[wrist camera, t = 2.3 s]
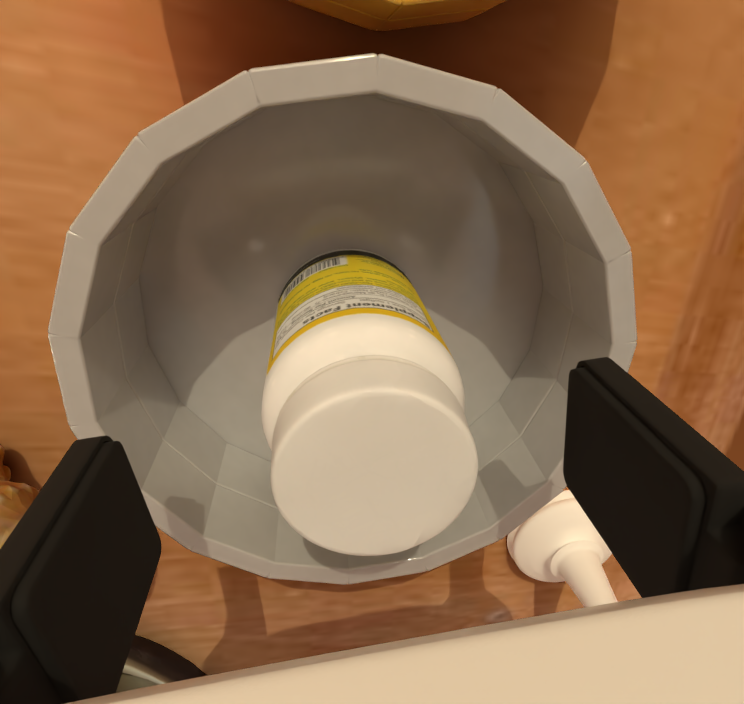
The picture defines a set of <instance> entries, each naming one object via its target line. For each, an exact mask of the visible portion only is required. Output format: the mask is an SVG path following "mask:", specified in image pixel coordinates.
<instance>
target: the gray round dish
mask: <svg viewBox="0 0 744 704" xmlns="http://www.w3.org/2000/svg"><path fill="white" fill-rule="evenodd" d="M338 249H361V250H366V251H370V252H373V253H376V254H379V255H381V256H383V257H385V258H387V259H388V260H390V261H391V262H393V263H394V264H395V265H396V266H398V267H399V268H400V269H401V270H402V271H403V272H404V273H405V275H406V276H407V277H408V279H409V280H410V282H411V283H412V285H413V287H414V288H415V290H416V292H417V294H418V295H419V297H420V299H421V301H422V303H423V304H424V306H425V308H426V310H427V312H428V313H429V315H430V317H431V319H432V321H433V323H434V325H435V326H436V328H437V330H438V332H439V334H440V336H441V337H442V339H443V341H444V342H445V344H446V346H447V348H448V350H449V351H450V353H451V355H452V357H453V359H454V361H455V363H456V365H457V367H458V370H459V373H460V376H461V379H462V383H463V387H464V394H465V409H464V414H465V417H466V421H467V424H468V427H469V429H470V432H471V434H472V437H473V439H474V442H475V446H476V450H477V455H478V474H477V480H476V484H475V487H474V490H473V492H472V495H471V497H470V499H469V501H468V503H467V505H466V506H465V507H464V509H463V510H462V512H461V513H460V515H459V516H458V517H457V518H456V519H455V520H454V521H453V522H452V523H451V524H450V525H449V526H448V527H447V528H446V529H445V530H443V531H442V532H441V533H439V534H438V535H436V536H435V537H433V538H431V539H429V540H428V541H426V542H424V543H422V544H420V545H417V546H415V547H413V548H411V549H408V550H405V551H401V552H398V553H393V554H387V555H380V556H356V555H347V554H342V553H337V552H334V551H330V550H328V549H325V548H323V547H320V546H318V545H316V544H314V543H312V542H310V541H308V540H307V539H305V538H304V537H302V536H301V535H300V534H299V533H297V532H296V531H295V530H294V529H293V528H292V527H291V526H290V525H289V524H288V522H287V521H286V520H285V519H284V517H283V516H282V515H281V513H280V511H279V509H278V507H277V505H276V503H275V500H274V497H273V494H272V489H271V480H270V474H271V457H272V451H271V449H270V447H269V445H268V442H267V439H266V437H265V434H264V430H263V425H262V416H261V410H262V397H263V389H264V384H265V378H266V372H267V366H268V359H269V354H270V348H271V341H272V335H273V328H274V322H275V316H276V309H277V303H278V300H279V296H280V294H281V292H282V289H283V287H284V285H285V284H286V282H287V281H288V279H289V278H290V276H291V275H292V274H293V273H294V272H295V271H296V270H297V269H298V268H299V267H300V266H301V265H303V264H304V263H305V262H307V261H308V260H310V259H311V258H313V257H315V256H317V255H319V254H322V253H325V252H328V251H332V250H338ZM630 250H631V247H630V245H629V243H628V241H627V239H626V237H625V235H624V233H623V231H622V229H621V227H620V225H619V223H618V221H617V219H616V217H615V215H614V213H613V211H612V209H611V207H610V205H609V203H608V201H607V199H606V197H605V195H604V193H603V191H602V189H601V187H600V185H599V183H598V181H597V179H596V177H595V175H594V173H593V171H592V169H591V167H590V165H589V163H588V162H587V161H586V160H585V158H584V157H583V156H582V155H581V154H580V153H579V152H577V151H576V150H575V149H574V148H572V147H571V146H570V145H569V144H568V143H566V142H565V141H564V140H563V139H562V138H560V137H559V136H558V135H557V134H556V133H554V132H553V131H552V130H551V129H549V128H548V127H547V126H546V125H545V124H543V123H542V122H541V121H540V120H539V119H537V118H536V117H535V116H534V115H532V114H531V113H530V112H529V111H528V110H526V109H525V108H524V107H523V106H522V105H520V104H519V103H518V102H517V101H515V100H514V99H513V98H512V97H511V96H509V95H508V94H507V93H506V92H505V91H503V90H502V89H500V88H497V87H496V86H494V85H490V84H487V83H483V82H480V81H476V80H473V79H469V78H466V77H462V76H459V75H455V74H452V73H448V72H445V71H441V70H438V69H434V68H431V67H427V66H424V65H420V64H417V63H413V62H410V61H406V60H403V59H399V58H396V57H392V56H389V55H385V54H378V55H377V54H375V53H369V54H361V55H353V56H345V57H337V58H329V59H321V60H313V61H305V62H297V63H289V64H281V65H273V66H265V67H257V68H251V69H249V71H247V70H244V71H242V72H240V73H239V74H237V75H235V76H234V77H232V78H230V79H228V80H227V81H225V82H223V83H222V84H220V85H218V86H216V87H215V88H213V89H211V90H210V91H208V92H206V93H204V94H203V95H201V96H199V97H198V98H196V99H194V100H192V101H191V102H189V103H187V104H186V105H184V106H182V107H181V108H179V109H177V110H175V111H174V112H172V113H170V114H169V115H167V116H165V117H163V118H162V119H160V120H158V121H157V122H155V123H153V124H151V125H150V126H148V127H146V128H145V129H143V130H141V131H140V132H139V133H138V135H137V136H135V137H133V139H132V140H131V142H130V143H129V144H128V146H127V147H126V148H125V150H124V151H123V153H122V154H121V155H120V157H119V158H118V160H117V161H116V162H115V164H114V165H113V167H112V168H111V169H110V171H109V172H108V174H107V175H106V176H105V178H104V179H103V181H102V182H101V183H100V185H99V186H98V188H97V189H96V190H95V192H94V193H93V195H92V196H91V197H90V199H89V200H88V201H87V203H86V204H85V206H84V207H83V208H82V210H81V211H80V213H79V214H78V215H77V217H76V218H75V220H74V221H73V222H72V224H71V225H70V228H69V230H68V231H67V233H66V239H65V244H64V249H63V254H62V259H61V264H60V270H59V275H58V280H57V285H56V290H55V296H54V301H53V306H52V311H51V316H50V321H49V327H48V333H49V334H48V338H49V343H50V347H51V351H52V355H53V360H54V364H55V368H56V373H57V377H58V381H59V386H60V390H61V394H62V398H63V403H64V407H65V411H66V416H67V420H68V424H69V426H70V429H71V430H72V432H73V433H74V435H75V436H76V438H77V439H78V440H79V439H85V438H92V437H98V436H105V435H107V436H110V438H111V439H112V440H113V441H120V442H121V444H122V445H123V447H124V450H125V452H126V455H127V457H128V460H129V462H130V465H131V467H132V469H133V472H134V474H135V477H136V479H137V482H138V484H139V487H140V489H141V492H142V494H143V497H144V499H145V502H146V504H147V507H148V509H149V512H150V514H151V517H152V519H153V522H154V524H155V526H156V527H158V528H159V529H161V530H162V531H163V532H165V533H166V534H167V535H169V536H170V537H171V538H173V539H174V540H176V541H177V542H178V543H180V544H181V545H182V546H184V547H185V548H187V549H190V551H192V552H195V553H198V554H200V555H203V556H206V557H209V558H212V559H214V560H217V561H220V562H223V563H226V564H228V565H231V566H234V567H237V568H240V569H242V570H245V571H248V572H251V573H254V574H256V575H259V576H262V577H265V578H267V577H268V578H270V579H282V580H294V581H306V582H318V583H330V584H343V585H347V584H356V583H362V582H368V581H374V580H380V579H386V578H392V577H398V576H404V575H410V574H416V573H423V572H426V570H427V571H430V570H432V569H435V568H437V567H439V566H441V565H444V564H446V563H448V562H451V561H453V560H455V559H458V558H460V557H462V556H465V555H467V554H469V553H472V552H474V551H476V550H478V549H481V548H483V547H485V546H488V545H490V544H492V543H495V542H497V541H499V539H503V538H504V537H505V536H507V535H508V534H509V533H510V532H512V531H513V530H514V529H516V528H517V527H518V526H519V525H521V524H522V523H523V522H524V521H526V520H527V519H528V518H530V517H531V516H532V515H533V514H535V513H536V512H537V511H538V510H540V509H541V508H542V507H544V506H545V505H546V504H547V503H549V502H550V501H551V500H552V499H554V498H555V497H556V496H558V495H559V494H560V493H561V492H563V489H565V488H566V486H567V485H566V482H565V479H564V475H563V461H564V445H565V428H566V412H567V396H568V379H569V373H570V370H572V369H576V366H577V364H578V362H580V361H583V360H589V359H596V358H602V357H609V358H610V359H612V360H613V361H614V362H615V363H616V364H618V365H619V366H620V367H621V368H622V369H624V370H625V371H626V372H627V373H628V371H629V367H630V364H631V361H632V358H633V355H634V351H635V348H636V345H637V342H636V340H637V329H636V313H635V297H634V281H633V265H632V253H631V251H630Z"/></svg>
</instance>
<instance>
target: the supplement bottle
mask: <svg viewBox="0 0 744 704" xmlns="http://www.w3.org/2000/svg"><path fill="white" fill-rule="evenodd" d="M464 409H465V394H464V387H463V383H462V379H461V376H460V373H459V370H458V367H457V365H456V363H455V361H454V359H453V357H452V355H451V353H450V351H449V350H448V348H447V346H446V344H445V342H444V341H443V339H442V337H441V336H440V334H439V332H438V330H437V328H436V326H435V325H434V323H433V321H432V319H431V317H430V315H429V313H428V312H427V310H426V308H425V306H424V304H423V303H422V301H421V299H420V297H419V295H418V294H417V292H416V290H415V288H414V287H413V285H412V283H411V282H410V280H409V279H408V277H407V276H406V275H405V273H404V272H403V271H402V270H401V269H400V268H399V267H398V266H396V265H395V264H394V263H393V262H391V261H390V260H388V259H387V258H385V257H383V256H381V255H379V254H376V253H373V252H370V251H366V250H361V249H338V250H332V251H328V252H325V253H322V254H319V255H317V256H315V257H313V258H311V259H310V260H308V261H307V262H305V263H304V264H303V265H301V266H300V267H299V268H298V269H297V270H296V271H295V272H294V273H293V274H292V275H291V276H290V278H289V279H288V281H287V282H286V284H285V285H284V287H283V289H282V292H281V294H280V296H279V300H278V303H277V309H276V316H275V322H274V328H273V335H272V341H271V348H270V354H269V359H268V366H267V372H266V378H265V384H264V389H263V397H262V410H261V416H262V425H263V430H264V434H265V437H266V439H267V442H268V445H269V447H270V449H271V451H272V457H271V474H270V480H271V489H272V494H273V497H274V500H275V503H276V505H277V507H278V509H279V511H280V513H281V515H282V516H283V517H284V519H285V520H286V521H287V522H288V524H289V525H290V526H291V527H292V528H293V529H294V530H295V531H296V532H297V533H299V534H300V535H301V536H302V537H304V538H305V539H307V540H308V541H310V542H312V543H314V544H316V545H318V546H320V547H323V548H325V549H328V550H330V551H334V552H337V553H342V554H347V555H356V556H380V555H387V554H393V553H398V552H401V551H405V550H408V549H411V548H413V547H415V546H417V545H420V544H422V543H424V542H426V541H428V540H429V539H431V538H433V537H435V536H436V535H438V534H439V533H441V532H442V531H443V530H445V529H446V528H447V527H448V526H449V525H450V524H451V523H452V522H453V521H454V520H455V519H456V518H457V517H458V516H459V515H460V513H461V512H462V510H463V509H464V507H465V506H466V505H467V503H468V501H469V499H470V497H471V495H472V492H473V490H474V487H475V484H476V480H477V474H478V455H477V450H476V446H475V442H474V439H473V437H472V434H471V432H470V429H469V427H468V424H467V421H466V417H465V414H464Z"/></svg>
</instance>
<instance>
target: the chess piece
mask: <svg viewBox="0 0 744 704" xmlns="http://www.w3.org/2000/svg"><path fill="white" fill-rule="evenodd" d="M507 547H508V551H509V553H510V555H511V557H512V558H513V560H514V561H515V563H516V565H517V566H518V568H519V569H520V570H521V571H522V572H523V573H524V574H526V575H527V576H529V577H531V578H533V579H536V580H539V581H544V582H564V581H566V582H567V584H568V585H569V586H570V588H571V589H572V590H573V592H574V593H575V595H576V596H577V598H578V599H579V600H580V602H581V603H582V605H583V606H584V608H586V607H591V606H597V605H603V604H608V603H614V602H618V601H617V599H616V597H615V595H614V593H613V590H612V588H611V586H610V584H609V581H608V579H607V577H606V574H605V572H604V570H603V567H602V564H603V563H604V562H605V561H606V560H607V559H608V558H609V556H610V555H611V554H612V552H611V551H610V549H609V548H608V546H607V545H606V543H605V542H604V540H603V539H602V537H601V536H600V534H599V533H598V531H597V530H596V528H595V527H594V526H593V524H592V523H591V521H590V520H589V518H588V517H587V515H586V514H585V512H584V511H583V509H582V508H581V506H580V505H579V503H578V502H577V500H576V499H575V497H574V496H573V494H572V493H571V491H570V490H565V491H563V492H561V493H560V494H559V495H558V496H556V497H555V498H554V499H552V500H551V501H550V502H549V503H547V504H546V505H545V506H544V507H542V508H541V509H540V510H538V511H537V512H536V513H535V514H533V515H532V516H531V517H530V518H528V519H527V520H526V521H524V522H523V523H522V524H521V525H519V526H518V527H517V528H516V529H514V530H513V531H512V532H510V533H509V534H508V537H507Z"/></svg>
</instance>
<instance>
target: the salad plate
mask: <svg viewBox="0 0 744 704" xmlns="http://www.w3.org/2000/svg"><path fill="white" fill-rule="evenodd" d="M203 676H207V675H206V674H204V673H203V672H202V671H201V670H199V669H198V668H197V667H196V666H195V665H194V664H192V663H191V662H189V661H188V660H186V659H184V658H183V657H181V656H179V655H178V654H176V653H174V652H173V651H171V650H169V649H167V648H165V647H163V646H161V645H159V644H157V643H155V642H152V641H150V640H147V639H144V638H142V637H139V636H135V635H134V638H133V641H132V644H131V647H130V651H129V654H128V657H127V660H126V663H125V666H124V669H123V672H122V675H121V678H120V681H119V684H118V687H117V690H116V693H119V692H124V691H129V690H134V689H138V688H144V687H149V686H155V685H160V684H165V683H171V682H176V681H181V680H187V679H192V678H197V677H203Z"/></svg>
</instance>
